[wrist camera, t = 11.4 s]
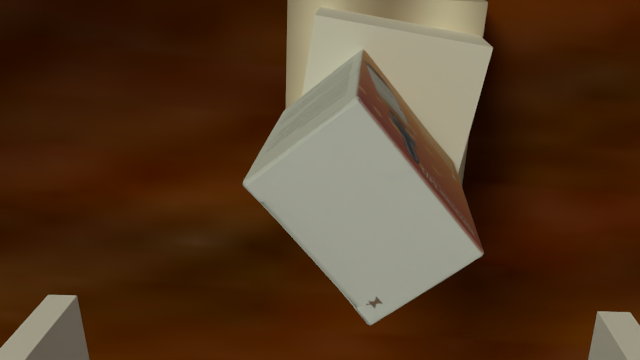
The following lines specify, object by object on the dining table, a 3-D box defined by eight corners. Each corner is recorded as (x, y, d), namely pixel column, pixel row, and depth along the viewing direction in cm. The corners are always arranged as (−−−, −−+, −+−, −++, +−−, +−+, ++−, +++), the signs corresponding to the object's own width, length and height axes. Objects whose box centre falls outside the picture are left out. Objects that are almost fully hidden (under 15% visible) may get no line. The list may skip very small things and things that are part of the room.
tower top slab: (291, 184, 38) (283, 211, 34) (320, 6, 33) (314, 14, 30) (432, 210, 37) (439, 240, 34) (479, 35, 33) (493, 47, 30)
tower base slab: (291, 181, 42) (284, 204, 38) (296, -13, 37) (287, -8, 33) (449, 191, 41) (457, 216, 37) (475, -5, 36) (487, 2, 33)
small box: (455, 162, 32) (491, 259, 22) (371, 219, 34) (371, 332, 24) (363, 43, 30) (358, 92, 20) (279, 110, 32) (238, 185, 22)
